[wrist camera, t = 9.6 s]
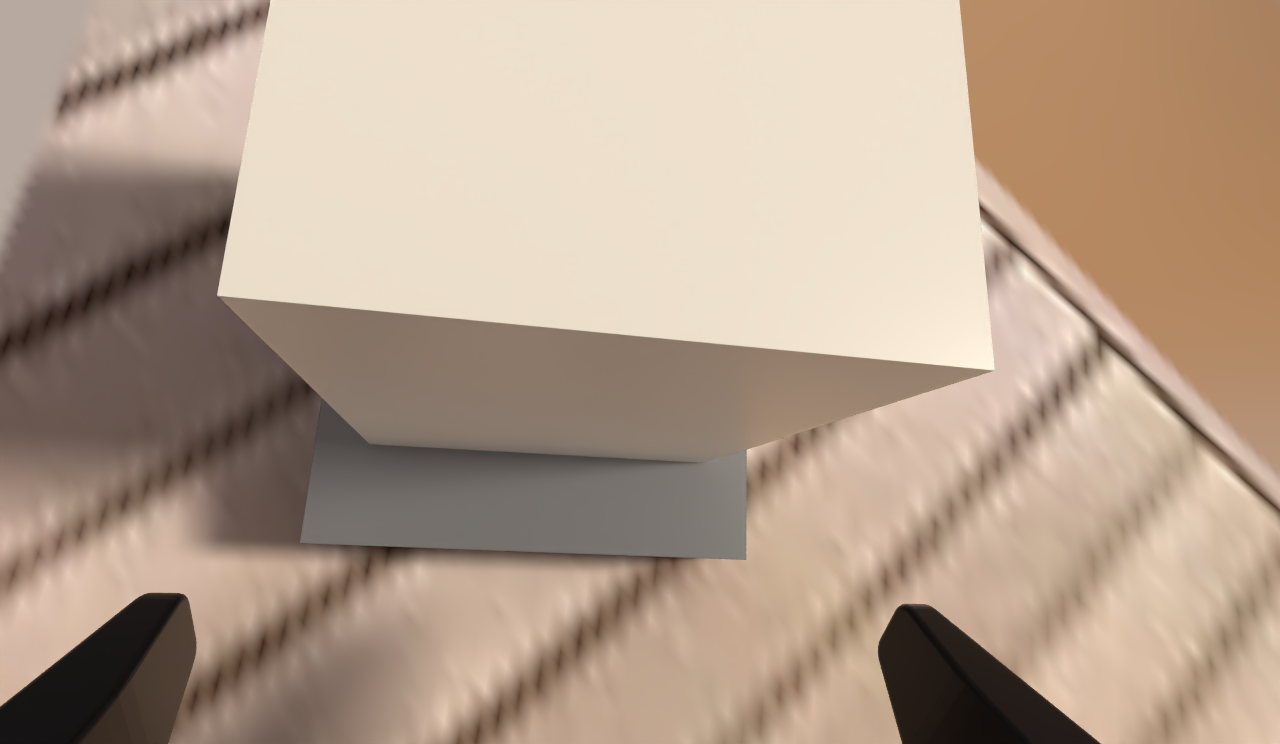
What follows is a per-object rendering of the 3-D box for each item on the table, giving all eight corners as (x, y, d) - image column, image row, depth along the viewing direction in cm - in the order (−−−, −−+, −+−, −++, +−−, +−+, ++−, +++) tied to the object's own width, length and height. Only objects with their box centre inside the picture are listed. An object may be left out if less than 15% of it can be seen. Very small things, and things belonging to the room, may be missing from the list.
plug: (676, 472, 18) (994, 370, 7) (382, 456, 16) (218, 295, 5) (680, 215, 19) (941, -180, 9) (414, 179, 18) (335, -358, 7)
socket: (708, 557, 18) (746, 559, 15) (325, 542, 16) (299, 543, 13) (714, 163, 20) (747, 113, 18) (387, 108, 18) (375, 45, 16)
